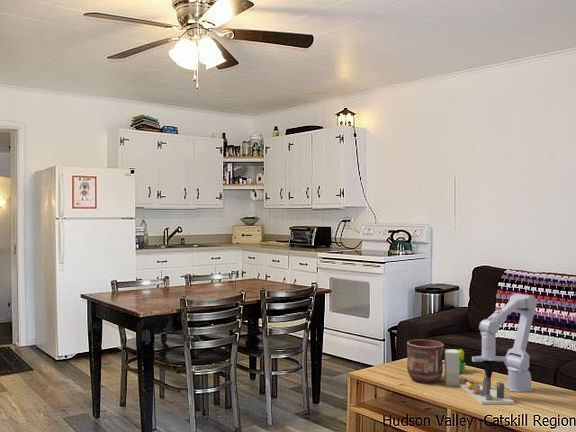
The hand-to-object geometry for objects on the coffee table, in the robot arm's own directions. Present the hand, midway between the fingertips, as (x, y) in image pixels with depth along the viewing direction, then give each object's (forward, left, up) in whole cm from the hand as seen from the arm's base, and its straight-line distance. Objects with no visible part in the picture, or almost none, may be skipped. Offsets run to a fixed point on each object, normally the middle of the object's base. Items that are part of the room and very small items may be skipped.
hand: (488, 377), depth 241 cm
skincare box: (+10, -18, -8) cm, 22 cm away
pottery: (+21, -24, -8) cm, 33 cm away
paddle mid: (+4, 0, -6) cm, 7 cm away
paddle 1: (+4, -7, -6) cm, 10 cm away
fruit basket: (0, -39, -8) cm, 40 cm away
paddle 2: (+4, +7, -6) cm, 10 cm away
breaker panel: (+1, 0, -8) cm, 8 cm away
